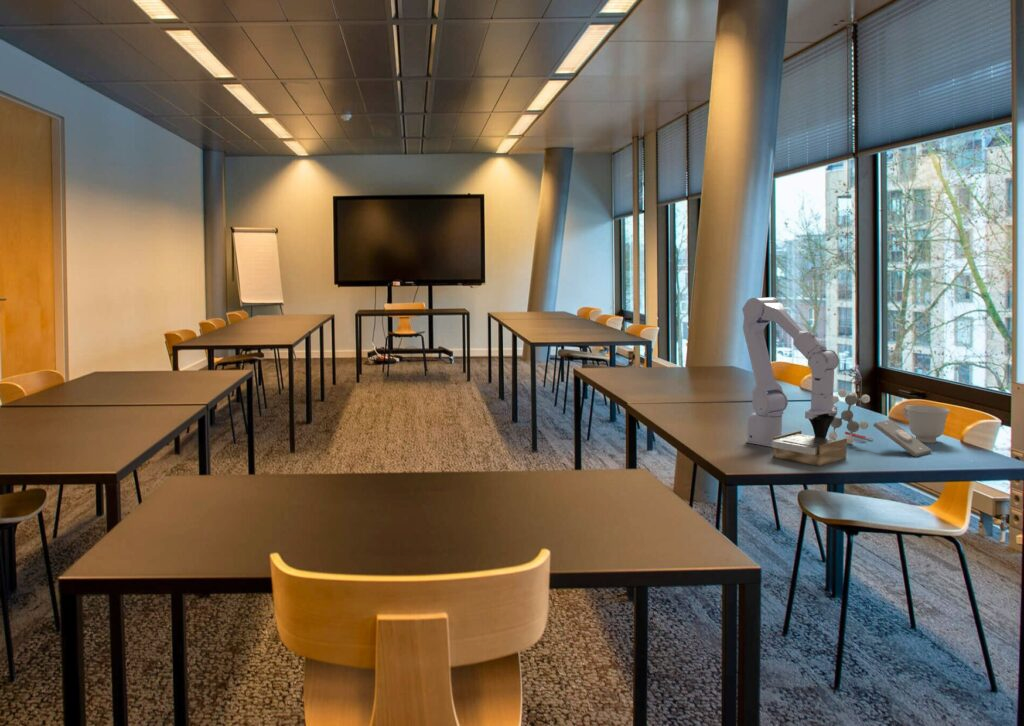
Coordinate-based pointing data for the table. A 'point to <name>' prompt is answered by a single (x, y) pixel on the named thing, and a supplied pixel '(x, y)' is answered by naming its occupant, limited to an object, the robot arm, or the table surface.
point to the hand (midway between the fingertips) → (820, 440)
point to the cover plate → (801, 443)
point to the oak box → (825, 456)
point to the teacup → (926, 421)
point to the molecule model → (848, 416)
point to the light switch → (902, 438)
